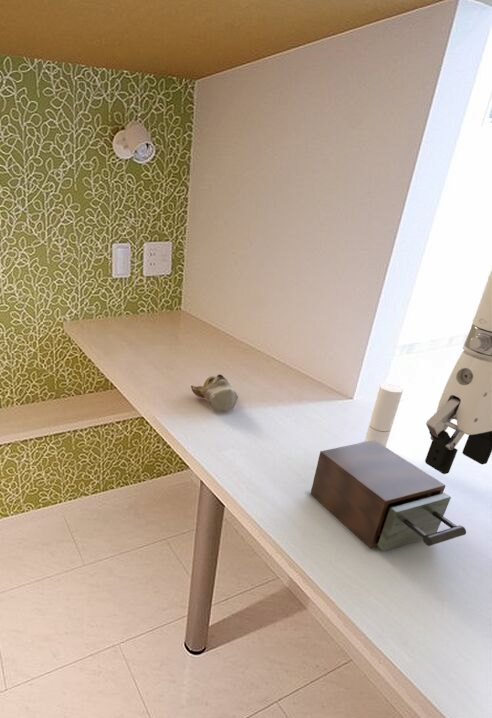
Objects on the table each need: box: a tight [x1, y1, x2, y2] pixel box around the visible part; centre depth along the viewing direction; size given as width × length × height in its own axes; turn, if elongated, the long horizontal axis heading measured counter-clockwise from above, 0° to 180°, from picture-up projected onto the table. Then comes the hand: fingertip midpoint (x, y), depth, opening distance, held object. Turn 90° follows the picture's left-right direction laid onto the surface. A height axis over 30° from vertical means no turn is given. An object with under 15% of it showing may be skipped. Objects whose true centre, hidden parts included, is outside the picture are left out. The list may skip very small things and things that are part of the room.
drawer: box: [377, 492, 467, 552], centre depth 72 cm, size 18×11×8 cm, turn 20°
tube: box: [364, 383, 404, 448], centre depth 94 cm, size 4×4×15 cm
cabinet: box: [310, 440, 446, 549], centre depth 76 cm, size 15×13×10 cm
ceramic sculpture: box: [190, 374, 239, 413], centre depth 115 cm, size 11×9×15 cm
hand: (455, 462), depth 61 cm, fingers open, 6 cm apart
